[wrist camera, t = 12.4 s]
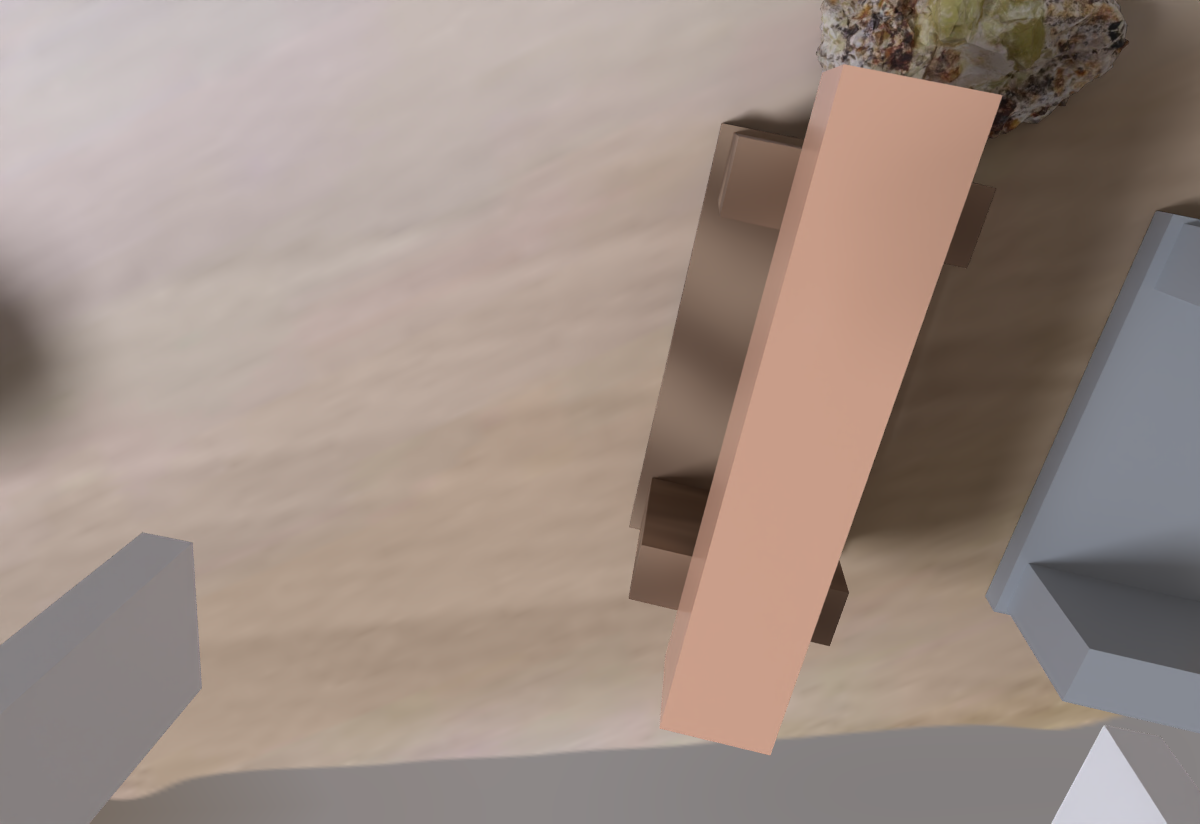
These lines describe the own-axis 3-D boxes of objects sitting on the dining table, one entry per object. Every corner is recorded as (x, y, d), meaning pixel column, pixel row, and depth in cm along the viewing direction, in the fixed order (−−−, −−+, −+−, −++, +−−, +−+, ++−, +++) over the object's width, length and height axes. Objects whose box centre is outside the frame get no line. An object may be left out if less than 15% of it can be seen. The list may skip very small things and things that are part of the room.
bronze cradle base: (721, 123, 31) (725, 124, 24) (948, 168, 31) (1015, 183, 24) (631, 515, 38) (614, 601, 31) (816, 557, 37) (840, 654, 31)
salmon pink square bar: (822, 72, 23) (843, 64, 20) (956, 98, 23) (1002, 95, 20) (665, 656, 32) (659, 728, 28) (762, 679, 31) (770, 755, 28)
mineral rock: (804, 173, 29) (841, -78, 25) (792, 137, 33) (822, -89, 28) (1104, 180, 29) (1203, -79, 24) (1059, 142, 32) (1137, -91, 27)
